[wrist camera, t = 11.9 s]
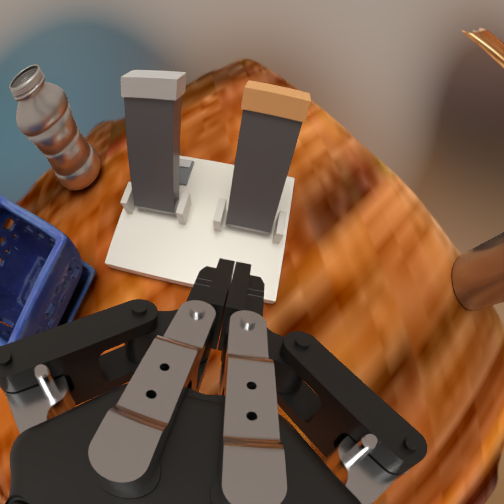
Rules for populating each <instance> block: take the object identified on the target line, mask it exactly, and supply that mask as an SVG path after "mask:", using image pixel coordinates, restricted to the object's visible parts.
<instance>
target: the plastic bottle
mask: <svg viewBox="0 0 504 504" xmlns="http://www.w3.org/2000/svg"><path fill="white" fill-rule="evenodd" d="M9 87H10V90H11V92H12V94H13V97H14V99H15V100H16V101H19V102H18V107H17V115H16V121H17V125H18V128H19V129H20V131H21V132H22V133H23V134H24V135H25V136H26V137H27V138H28V139H29V140H30V141H31V142H33V143H34V144H35V145H36V146H37V147H38V149H39V150H40V151H41V152H42V153H43V154H44V155H45V157H46V158H47V159H48V161H49V163H50V164H51V166H52V168H53V169H54V172H55V174H56V176H57V178H58V180H59V182H60V183H61V184H62V185H63V186H64V187H66V188H67V189H69V190H81V189H84V188H86V187H88V186H89V185H91V184H92V183H93V182H94V180H95V179H96V177H97V176H98V173H99V170H100V160H99V156H98V153H97V152H96V151H95V149H94V148H93V147H92V146H91V145H90V144H89V143H88V142H87V141H86V140H85V138H84V137H83V135H82V134H81V133H80V131H79V129H78V127H77V125H76V122H75V120H74V118H73V115H72V111H71V108H70V104H69V101H68V98H67V95H66V93H65V91H64V90H63V89H62V88H60V87H59V86H57V85H54V84H52V83H48V82H45V76H44V74H43V73H42V71H41V69H40V67H39V65H36V64H35V65H31V66H29V67H27V68H25V69H24V70H22V71H21V72H20V73H18V74H17V75H16V76H15V77H14V79H13V80H12V81H11V83H10V85H9Z"/></svg>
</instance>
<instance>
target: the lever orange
mask: <svg viewBox="0 0 504 504" xmlns="http://www.w3.org/2000/svg"><path fill="white" fill-rule="evenodd" d="M310 103H311V99H310V94H309V93H306V92H302V91H298V90H294V89H290V88H285V87H281V86H276V85H271V84H266V83H261V82H256V81H250V80H248V82H247V84H246V85H245V87H244V92H243V98H242V104H241V109H243V114H242V120H241V127H240V133H239V139H238V145H237V152H236V158H235V165H234V171H233V178H232V185H231V191H230V198H229V205H228V212H227V216H226V221H225V225H227V226H232V227H237V228H242V229H246V230H251V231H256V232H261V233H265V234H270V235H271V232H272V229H273V224H274V219H275V216H276V212H277V209H278V206H279V202H280V199H281V195H282V192H283V188H284V185H285V181H286V178H287V174H288V171H289V167H290V164H291V160H292V157H293V153H294V150H295V146H296V143H297V139H298V136H299V132H300V128H301V125H302V122H304V123H305V121H306V117H307V114H308V110H309V106H310Z"/></svg>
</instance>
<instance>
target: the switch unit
mask: <svg viewBox="0 0 504 504" xmlns="http://www.w3.org/2000/svg"><path fill="white" fill-rule="evenodd" d="M233 171H234V165H231V164H225V163H220V162H214V161H209V160H203V159H197V158H191V157H184V156H180V165H179V200H180V201H179V204H178V207H177V210H176V215H172V214H167V213H162V212H157V211H151V210H146V209H141V208H136V207H134V200H133V193H132V185H131V182H128V184H127V187H126V189H125V192H124V194H123V197H122V199H121V202H120V203H121V205H122V206H123V211H122V213H121V216H120V219H119V222H118V224H117V227H116V230H115V233H114V236H113V239H112V242H111V245H110V248H109V251H108V254H107V257H106V261H105V264H107V265H108V266H109V267H110V268H114V269H117V270H121V271H125V272H129V273H133V274H137V275H141V276H145V277H149V278H154V279H158V280H162V281H166V282H171V283H175V284H179V285H184V286H188V287H193V285H194V283H195V280H196V278H197V276H198V274H199V271H200V270H201V269H203V268H204V267H206V266H209V267H214V268H216V267H217V264H218V261H219V259H220V258H222V259H227V260H232V261H235V264H234V269H235V265H236V262H241V263H246V264H251V271H250V275H253V276H258V277H261V279H262V280H263V282H264V284H265V286H264V302H265V303H270V304H273V303H274V302H275V301H276V296H277V290H278V284H279V278H280V272H281V266H282V260H283V253H284V247H285V240H286V234H287V227H288V220H289V214H290V207H291V200H292V193H293V186H294V178H292V177H288V176H287V178H286V181H285V185H284V188H283V192H282V195H281V199H280V202H279V206H278V209H277V212H276V216H275V219H274V224H273V229H272V232H271V235H270V234H265V233H261V232H256V231H251V230H246V229H242V228H237V227H232V226H227V225H225V221H226V216H227V212H228V205H229V198H230V191H231V185H232V178H233ZM233 273H234V270H233ZM232 277H233V275H232Z"/></svg>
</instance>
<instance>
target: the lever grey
mask: <svg viewBox="0 0 504 504" xmlns="http://www.w3.org/2000/svg"><path fill="white" fill-rule="evenodd" d="M185 85H186V72H173V71H154V70H132V71H130V72H129V73H127V74H125V75H124V76H122V77H121V97H124V102H125V122H126V136H127V148H128V158H129V168H130V177H131V185H132V193H133V200H134V207H136V208H141V209H146V210H151V211H157V212H162V213H167V214H172V215H176V210H177V207H178V204H179V201H180V200H179V165H180V127H181V105H182V94H183V93H185Z"/></svg>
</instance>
